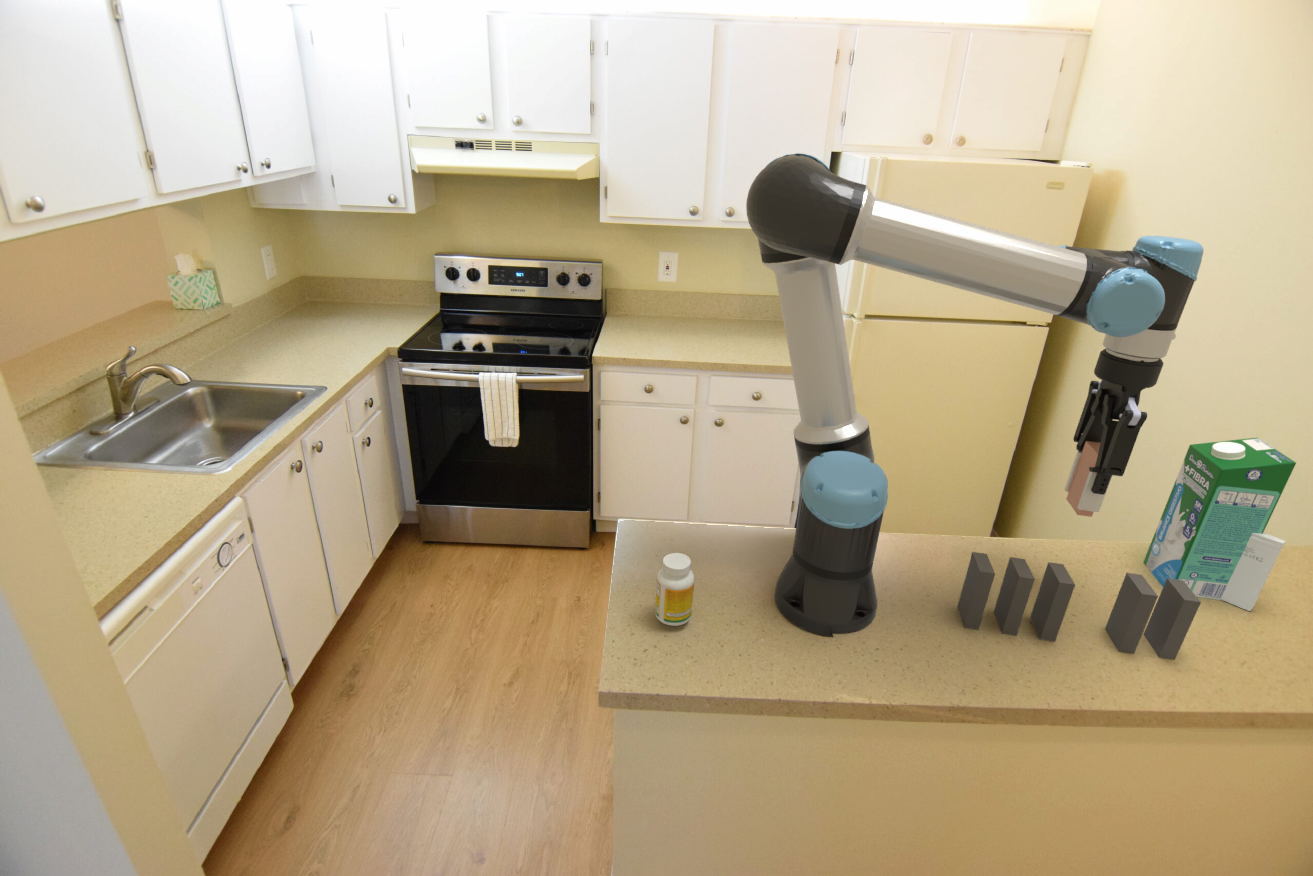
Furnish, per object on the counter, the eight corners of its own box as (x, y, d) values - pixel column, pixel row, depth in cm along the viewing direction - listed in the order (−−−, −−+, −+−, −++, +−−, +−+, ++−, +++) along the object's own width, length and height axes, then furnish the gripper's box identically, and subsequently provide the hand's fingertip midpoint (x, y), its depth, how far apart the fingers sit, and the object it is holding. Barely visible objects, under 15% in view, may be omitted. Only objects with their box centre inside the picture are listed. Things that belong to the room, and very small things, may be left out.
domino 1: (964, 628, 101) (980, 571, 97) (957, 606, 105) (972, 551, 101) (978, 630, 101) (995, 573, 96) (971, 608, 105) (986, 553, 101)
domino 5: (1118, 651, 98) (1141, 593, 93) (1105, 628, 102) (1126, 572, 98) (1134, 653, 97) (1158, 596, 93) (1119, 630, 102) (1141, 574, 98)
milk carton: (1142, 563, 118) (1194, 430, 108) (1199, 570, 117) (1258, 436, 107) (1168, 595, 110) (1228, 455, 100) (1230, 603, 109) (1297, 461, 99)
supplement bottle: (647, 614, 101) (649, 559, 97) (672, 598, 104) (675, 545, 100) (674, 632, 98) (677, 576, 94) (699, 615, 101) (703, 561, 97)
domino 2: (1001, 633, 100) (1019, 576, 96) (993, 612, 105) (1010, 557, 100) (1016, 635, 100) (1034, 579, 96) (1007, 614, 104) (1024, 558, 100)
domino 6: (1159, 657, 97) (1184, 599, 93) (1143, 634, 101) (1167, 578, 97) (1174, 660, 96) (1201, 602, 92) (1158, 636, 101) (1182, 580, 97)
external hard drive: (1191, 582, 113) (1220, 517, 108) (1253, 608, 107) (1286, 540, 102) (1188, 585, 112) (1216, 520, 107) (1250, 612, 106) (1283, 544, 101)
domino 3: (1040, 639, 99) (1059, 582, 95) (1030, 617, 104) (1048, 562, 100) (1055, 641, 99) (1075, 584, 95) (1044, 619, 103) (1063, 564, 99)
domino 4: (1077, 514, 103) (1098, 454, 99) (1066, 498, 108) (1085, 440, 103) (1091, 516, 103) (1113, 456, 99) (1080, 500, 107) (1100, 442, 103)
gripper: (1195, 377, 86) (1133, 535, 96) (1134, 338, 102) (1086, 477, 112) (1130, 371, 88) (1075, 527, 97) (1080, 333, 104) (1037, 470, 113)
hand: (1081, 500), depth 105 cm, fingers closed on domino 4, 5 cm apart
